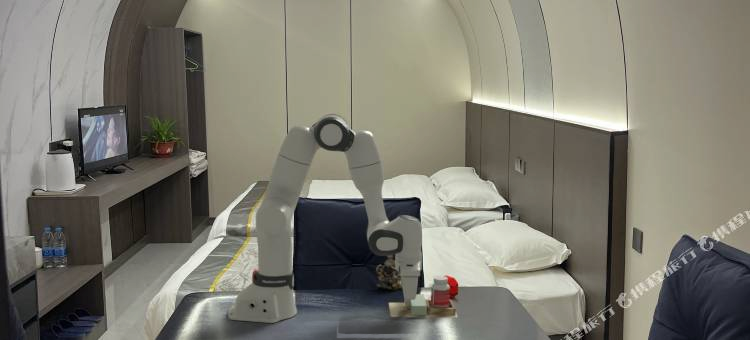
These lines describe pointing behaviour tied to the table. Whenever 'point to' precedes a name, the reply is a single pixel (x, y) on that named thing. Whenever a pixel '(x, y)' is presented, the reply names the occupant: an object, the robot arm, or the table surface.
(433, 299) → the pill bottle
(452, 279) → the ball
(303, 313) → the table surface
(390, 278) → the figurine
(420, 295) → the housing cover
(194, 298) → the table surface
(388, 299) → the table surface
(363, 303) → the table surface
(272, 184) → the robot arm
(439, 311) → the base
